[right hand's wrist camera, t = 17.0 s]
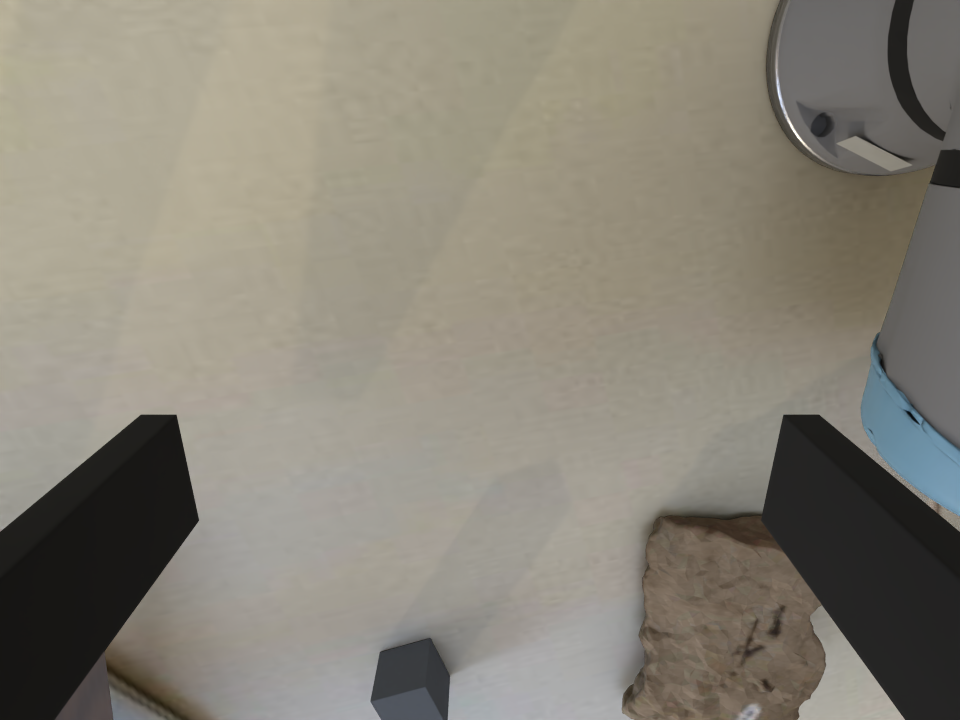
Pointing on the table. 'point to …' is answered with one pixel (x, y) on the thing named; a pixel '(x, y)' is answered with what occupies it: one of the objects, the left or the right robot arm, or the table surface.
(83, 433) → the table surface
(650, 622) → the stone
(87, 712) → the bar
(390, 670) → the block
